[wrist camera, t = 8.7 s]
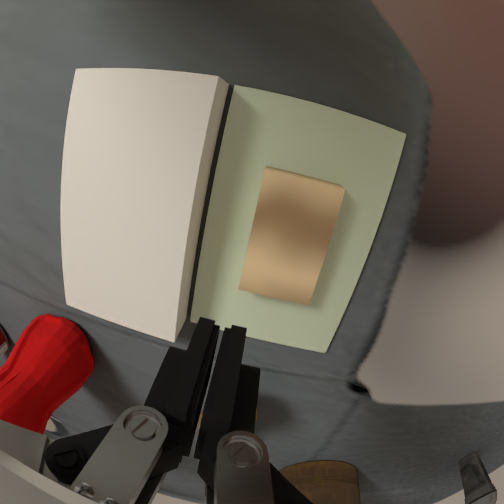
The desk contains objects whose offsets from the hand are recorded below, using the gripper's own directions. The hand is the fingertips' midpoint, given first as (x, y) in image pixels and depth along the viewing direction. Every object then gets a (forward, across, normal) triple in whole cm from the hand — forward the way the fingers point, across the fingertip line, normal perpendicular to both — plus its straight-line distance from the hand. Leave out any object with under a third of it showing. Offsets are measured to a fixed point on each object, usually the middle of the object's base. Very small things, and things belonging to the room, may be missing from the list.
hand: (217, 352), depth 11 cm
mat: (+16, -3, +1) cm, 16 cm away
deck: (+16, +10, +1) cm, 19 cm away
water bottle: (+16, +20, +23) cm, 35 cm away
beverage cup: (+14, -55, +37) cm, 68 cm away
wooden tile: (+14, -3, +1) cm, 14 cm away
